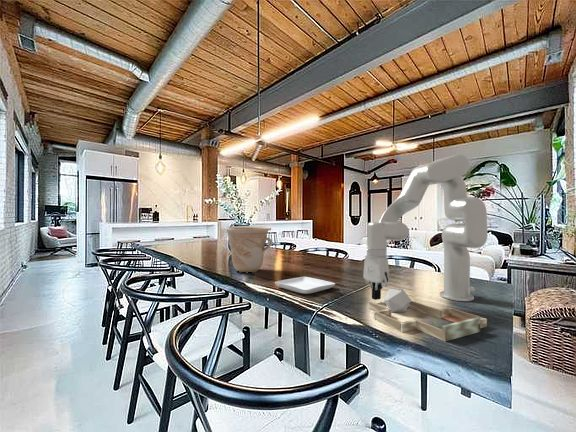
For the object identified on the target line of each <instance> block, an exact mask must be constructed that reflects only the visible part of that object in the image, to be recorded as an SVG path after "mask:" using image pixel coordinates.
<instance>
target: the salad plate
mask: <svg viewBox="0 0 576 432" xmlns="http://www.w3.org/2000/svg"><path fill="white" fill-rule="evenodd" d="M274 283H275V285H276V286H277V287H279V288H282V289H285V290H288V291H291V292H295V293H298V294H303V295H309V294H313V293H319V292H322V291H325V290H329V289H331V288H333V287H334V286H335V285H336V282H332V281H329V280H328V281H327V280H323V279H319V278H314V277H309V276H300V277H292V278H287V279H283V280H282V279H281V280H277V281H275V282H274Z"/></svg>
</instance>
